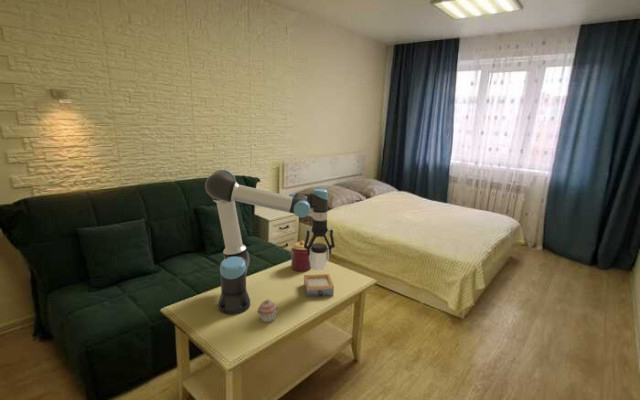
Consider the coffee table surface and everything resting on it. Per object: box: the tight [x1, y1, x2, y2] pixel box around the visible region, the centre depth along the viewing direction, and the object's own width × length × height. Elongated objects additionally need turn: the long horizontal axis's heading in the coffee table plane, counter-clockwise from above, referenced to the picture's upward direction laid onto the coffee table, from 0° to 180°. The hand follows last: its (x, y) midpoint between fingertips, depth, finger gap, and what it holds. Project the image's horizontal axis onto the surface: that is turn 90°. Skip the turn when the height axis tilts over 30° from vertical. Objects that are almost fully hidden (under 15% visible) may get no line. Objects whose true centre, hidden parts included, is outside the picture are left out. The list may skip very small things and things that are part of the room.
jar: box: [310, 242, 328, 271], centre depth 174 cm, size 9×8×12 cm
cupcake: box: [257, 299, 279, 324], centre depth 150 cm, size 9×9×10 cm
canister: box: [290, 240, 312, 272], centre depth 203 cm, size 13×13×18 cm
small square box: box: [303, 273, 335, 298], centre depth 178 cm, size 14×15×6 cm
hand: (318, 260), depth 174 cm, fingers closed on jar, 9 cm apart
